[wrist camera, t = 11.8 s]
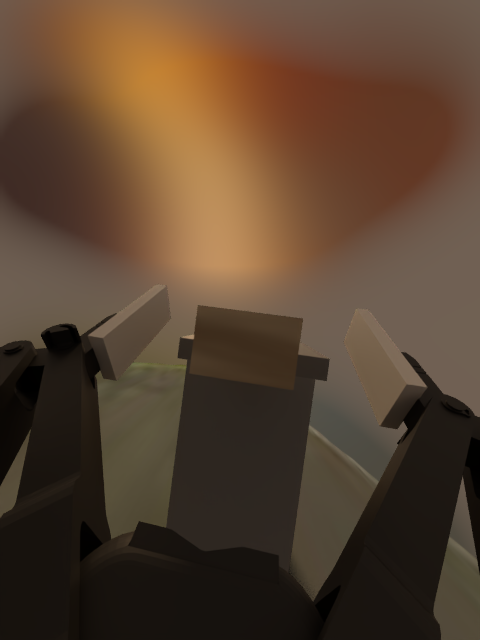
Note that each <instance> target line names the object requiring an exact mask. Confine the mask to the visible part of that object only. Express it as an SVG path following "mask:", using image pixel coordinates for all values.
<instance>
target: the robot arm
mask: <svg viewBox="0 0 480 640" xmlns="http://www.w3.org/2000/svg"><path fill="white" fill-rule="evenodd" d="M170 318H171V316H170V308H169V299H168V292H167V286H166V285H155V286H154V287H153V288H151V289H150V290H149V291H147V292H146V293H145V294H143V295H142V296H141V297H139V298H138V299H136V300H135V301H134V302H132V303H131V304H130V305H128V306H127V307H126V308H124V309H123V310H122V311H120V312H119V313H118V314H117V313H116V314H113V315H111V316H108V317H106V318H105V319H104V320H102V321H101V323H98V324H97V325H96V326H95V327H93V328H91V329H90V330H88V331H87V332H86V333H84V334H83V335H82V336H79V333H78V331H77V328H76V326H75V325H73V324H59V325H56V326H52V327H50V328H48V329H46V330H45V331H43V332H42V334H41V337H42V339H43V341H44V343H45V345H46V347H47V348H43V349H35V348H34V346H33V344H32V342H30V341H17V342H16V341H15V342H12V343H8V344H6V345H4V346H3V347H0V486H1V484H2V482H3V480H4V478H5V476H6V474H7V472H8V470H9V469H10V467H11V465H12V463H13V461H14V459H15V457H16V455H17V453H18V452H19V450H20V448H21V446H22V444H23V442H24V440H25V438H26V436H27V434H28V433H29V431H30V429H31V433H30V437H29V442H28V447H27V452H26V457H25V461H24V466H23V471H22V476H21V480H20V485H19V490H18V495H17V500H16V503H15V506H14V507H13V509H12V510H10V511H8V512H6V513H4V514H3V515H2V517H1V518H0V640H441V632H440V625H439V623H438V622H437V620H436V619H435V617H434V613H433V608H434V602H435V597H436V593H437V588H438V584H439V579H440V575H441V570H442V566H443V561H444V557H445V552H446V548H447V543H448V539H449V534H450V529H451V525H452V521H453V516H454V512H455V507H456V503H457V498H458V494H459V489H460V485H461V480H462V476H463V479H464V485H465V491H466V497H467V503H468V509H469V514H470V520H471V526H472V532H473V538H474V543H475V549H476V555H477V561H478V567H479V573H480V417H477V416H475V415H474V413H473V412H472V411H471V409H470V408H468V406H466V405H465V404H464V403H463V402H461V401H459V400H458V399H456V398H453V397H451V396H448V395H445V394H443V393H442V392H441V390H440V389H439V388H438V387H437V385H436V384H435V383H434V382H433V381H432V379H431V378H430V377H429V376H428V375H427V374H426V372H425V371H424V370H423V369H422V368H421V366H420V365H419V363H418V362H417V361H416V360H415V359H414V358H413V357H411V356H410V355H408V354H407V353H404V352H400V351H399V350H398V348H397V347H396V345H395V344H394V343H393V341H392V340H391V339H390V337H389V336H388V335H387V334H386V332H385V331H384V329H383V328H382V327H381V326H380V324H379V323H378V322H377V320H376V319H375V318H374V316H373V315H372V314H371V312H370V311H369V310H365V309H356V311H355V314H354V317H353V319H352V322H351V324H350V327H349V330H348V332H347V335H346V338H345V340H344V344H345V346H346V349H347V351H348V353H349V355H350V358H351V360H352V363H353V365H354V367H355V370H356V372H357V374H358V377H359V379H360V381H361V384H362V386H363V388H364V391H365V393H366V395H367V398H368V400H369V402H370V405H371V407H372V409H373V412H374V414H375V416H376V419H377V421H378V423H379V426H382V427H387V428H393V429H398V428H399V426H400V425H401V423H402V422H403V421H404V423H405V425H406V426H407V428H408V429H407V431H406V432H405V433H404V435H403V436H402V437H401V439H400V440H399V442H398V443H397V444H398V447H397V449H396V450H395V453H394V454H393V456H392V458H391V460H390V462H389V464H388V466H387V468H386V470H385V471H384V473H383V475H382V477H381V479H380V481H379V483H378V485H377V487H376V489H375V490H374V492H373V494H372V496H371V498H370V500H369V502H368V504H367V506H366V508H365V510H364V511H363V513H362V515H361V517H360V519H359V521H358V523H357V525H356V527H355V529H354V531H353V532H352V534H351V536H350V538H349V540H348V542H347V544H346V546H345V548H344V550H343V551H342V553H341V555H340V557H339V559H338V561H337V563H336V565H335V567H334V568H333V570H332V572H331V574H330V575H329V577H328V578H327V580H326V581H325V582H324V584H323V586H322V587H321V589H320V591H319V593H318V594H317V596H316V598H315V600H314V602H312V600H311V598H310V597H309V596H308V594H307V593H306V591H305V590H304V589H303V587H302V586H301V585H300V584H299V583H298V582H297V581H296V580H295V578H294V577H292V576H291V575H290V574H289V573H288V572H287V571H286V570H284V569H283V568H281V567H280V566H279V555H275V554H271V553H267V552H263V551H259V550H255V549H251V548H247V547H236V548H228V549H220V550H212V551H203V550H201V549H199V548H198V547H196V546H195V545H193V544H192V543H190V542H189V541H188V540H186V539H185V538H183V537H182V536H180V535H179V534H178V533H176V532H175V531H173V530H172V529H168V528H164V527H160V526H156V525H152V524H148V523H144V522H140V521H139V523H138V525H137V527H136V530H135V531H134V532H129V533H126V534H122V535H120V536H118V537H115V538H113V539H111V535H110V529H109V525H108V522H107V517H106V510H105V495H104V480H103V465H102V450H101V435H100V420H99V405H98V391H97V379H96V377H95V375H96V374H97V373H98V372H99V371H101V373H102V376H103V378H104V379H110V380H115V381H117V380H118V379H119V378H120V376H121V375H122V374H123V373H124V372H125V371H126V369H127V368H128V367H129V366H130V365H131V364H132V363H133V361H134V360H135V359H136V358H137V357H138V356H139V354H140V353H141V352H142V351H143V350H144V349H145V348H146V346H147V345H148V344H149V343H150V342H151V340H153V338H154V337H155V336H156V335H157V334H158V333H159V331H160V330H161V329H162V328H163V327H164V326H165V325H166V323H167V322H168V321H169V320H170ZM31 427H32V428H31Z"/></svg>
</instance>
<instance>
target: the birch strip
mask: <svg viewBox="0 0 480 640" xmlns="http://www.w3.org/2000/svg"><path fill="white" fill-rule="evenodd" d="M302 322H303V319H302V318H293V317H286V316H278V315H270V314H263V313H255V312H247V311H239V310H231V309H224V308H215V307H208V306H200V305H198V308H197V316H196V325H195V332H194V340H193V347H192V355H191V363H190V371H189V373H190V374H196V375H202V376H209V377H215V378H221V379H227V380H233V381H240V382H246V383H252V384H258V385H264V386H271V387H277V388H283V389H289V390H293V389H294V382H295V374H296V367H297V359H298V352H299V345H300V337H301V330H302Z"/></svg>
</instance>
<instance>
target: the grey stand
mask: <svg viewBox="0 0 480 640" xmlns="http://www.w3.org/2000/svg"><path fill="white" fill-rule="evenodd" d="M193 340H194V334H193V335H189V336H184V337H180V343H179V351H178V358H182V359H188V360H187V368H186V376H185V383H184V391H183V399H182V407H181V415H180V423H179V431H178V439H177V447H176V454H175V462H174V470H173V478H172V486H171V494H170V502H169V510H168V518H167V525H166V528H168V529H172V530H173V531H175V532H176V533H178V534H179V535H180V536H182V537H183V538H185V539H186V540H188V541H189V542H190V543H192V544H193V545H195V546H196V547H198V548H199V549H201V550H203V551H212V550H220V549H228V548H236V547H247V548H251V549H255V550H259V551H263V552H267V553H271V554H275V555H279V566H280V567H281V568H283V569H284V570H286V571H287V572H288V573H289V567H290V560H291V553H292V545H293V538H294V531H295V524H296V516H297V509H298V502H299V494H300V487H301V480H302V472H303V465H304V458H305V450H306V443H307V436H308V428H309V421H310V414H311V406H312V398H313V391H314V384H315V379H317V380H323V381H327V374H328V367H329V358H327V357H325V356H324V355H322V354H320V353H319V352H317V351H315V350H314V349H312V348H310V347H308V346H307V345H305V344H303V343H302V342H300V345H299V352H298V359H297V367H296V374H295V382H294V389H293V390H289V389H283V388H277V387H271V386H264V385H258V384H252V383H246V382H240V381H233V380H227V379H221V378H215V377H209V376H202V375H196V374H190V373H189V371H190V363H191V355H192V347H193Z"/></svg>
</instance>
